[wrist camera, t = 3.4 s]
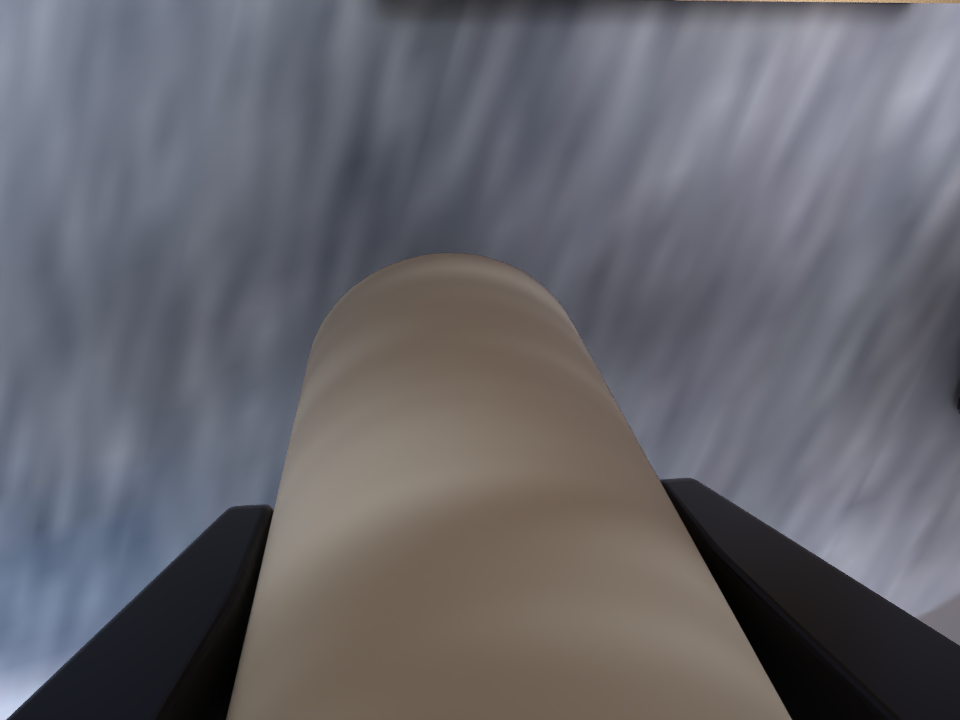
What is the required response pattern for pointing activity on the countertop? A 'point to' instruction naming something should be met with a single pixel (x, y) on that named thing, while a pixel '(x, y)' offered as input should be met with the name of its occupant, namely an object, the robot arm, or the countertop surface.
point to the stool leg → (478, 528)
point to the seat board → (880, 0)
